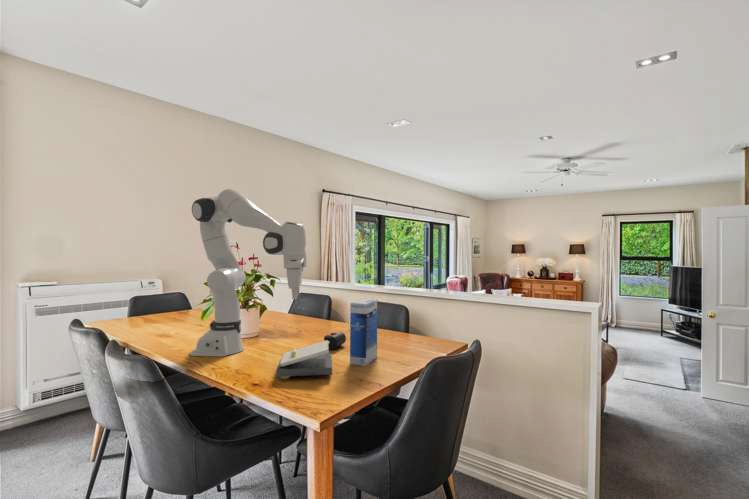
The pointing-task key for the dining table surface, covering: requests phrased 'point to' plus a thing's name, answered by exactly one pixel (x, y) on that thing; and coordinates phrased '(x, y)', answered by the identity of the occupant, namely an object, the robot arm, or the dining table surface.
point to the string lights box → (363, 331)
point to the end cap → (335, 340)
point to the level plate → (304, 353)
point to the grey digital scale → (307, 367)
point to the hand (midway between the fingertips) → (295, 297)
